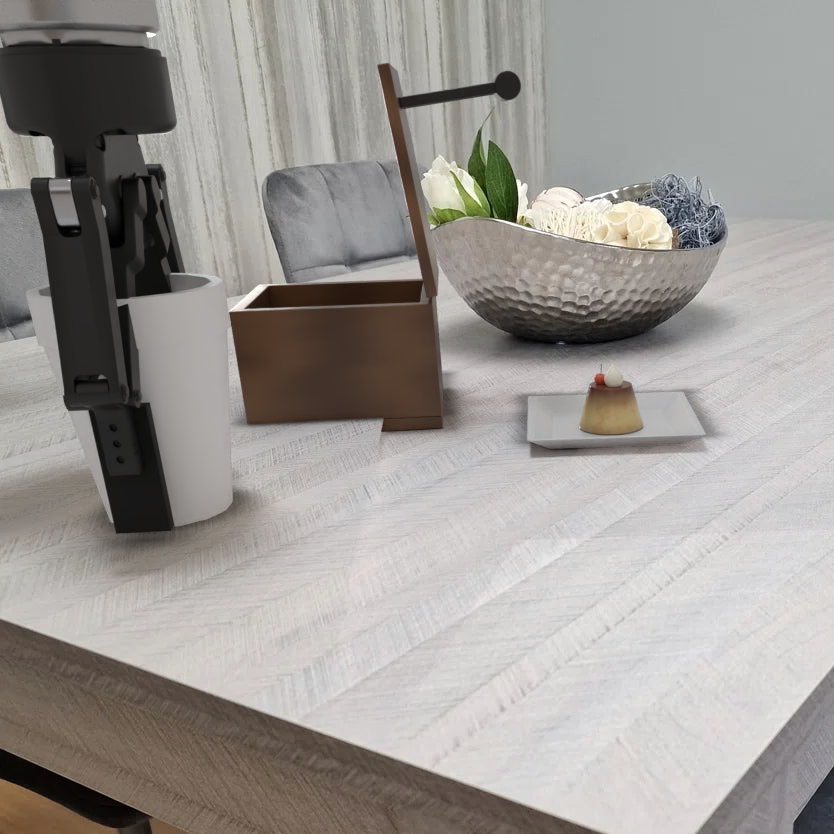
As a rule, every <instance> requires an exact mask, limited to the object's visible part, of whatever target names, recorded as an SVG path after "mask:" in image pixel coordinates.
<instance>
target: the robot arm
mask: <svg viewBox="0 0 834 834" xmlns="http://www.w3.org/2000/svg"><path fill="white" fill-rule="evenodd" d="M160 30H161V24H160V18H159V13H158V6H157V1H156V0H0V41H1V44H2V47H0V100H1V106H2V109H3V114H4V118H5V122H6V125H7V127H8V128H9V130H10V131H11V132H13V134H15V135H17V136H20V137H29V138H30V137H32V138H33V137H34V138H35V137H48V138H49V139H50V140H51V144H52V146H53V148H52V152H53V153H52V154H53V161H54V162H53V165H54V176H51V177H50V176H49V177H48V176H47V177H32V178H31V179H30V189H29V190H30V195H31V197H32V200H33V201H32V202H33V205H34V208H35V212H36V215H37V220H38V223H39V227H40V231H41V235H42V243H43V249H44V257H45V263H46V271H47V277H48V278H47V279H48V284H49V286H50V293H51V300H52V307H53V314H54V321H55V329H56V336H57V343H58V350H59V357H60V364H61V372H62V379H63V386H64V395H63V397H62V401H63V404H64V406H65V409H66V410H67V412H68V411H85V410H88V412H89V416H90V421H91V425H92V429H93V434H94V438H95V443H96V447H97V451H98V456H99V460H100V465H101V469H102V474H103V478H104V482H105V487H106V491H107V496H108V500H109V504H110V509H111V513H112V518H113V522H114V523H113V526H114V530H115V535H120V534H121V535H122V534H139V533H140V534H141V533H156V532H157V533H158V532H171V531H172V530H173V529H174V521H173V516H172V511H171V506H170V501H169V496H168V491H167V486H166V481H165V476H164V471H163V466H162V461H161V456H160V451H159V446H158V441H157V436H156V431H155V426H154V421H153V416H152V411H151V406H150V402H148V403H141V400H142V394H141V388H140V369H139V351H138V349H137V345H136V340H135V335H134V330H133V325H132V320H131V315H130V311H129V306H128V304H125V305H122V306H119V307H117V300H116V299H128V298H130V297H140V296H148V295H157V294H166V293H172V290H171V283H170V277H169V274H171V273H186V269H185V265H184V261H183V256H182V252H181V248H180V244H179V240H178V236H177V232H176V226H175V223H174V219H173V214H172V211H171V206H170V199H169V192H168V186H167V173H166V171H165V170H164V166H163V165H162V163H146V161H145V157H144V154H143V151H142V145H140V142H139V136H143V135H145V136H146V135H165V134H170V133H172V132H173V131H175V129H176V128H177V125H178V118H177V113H176V106H175V102H174V94H173V87H172V83H171V76H170V71H169V65H168V60H167V59H168V58H167V57H166V56H162V51H161V50H160V49H157V48H150V42H149V38H150V37H155V36H156V35H157V34H158V33H159V32H160ZM100 375H103V376H105V377H106V378H107V379H98V378H99V376H100Z"/></svg>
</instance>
